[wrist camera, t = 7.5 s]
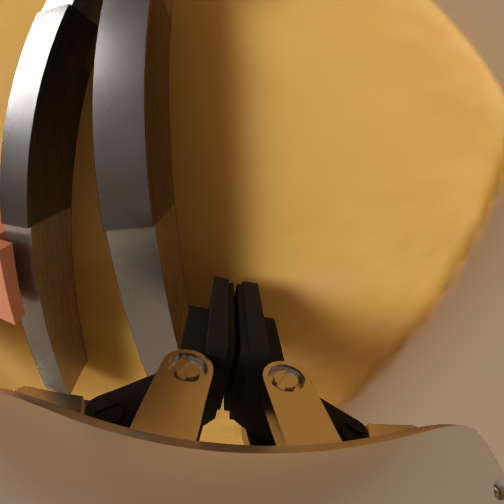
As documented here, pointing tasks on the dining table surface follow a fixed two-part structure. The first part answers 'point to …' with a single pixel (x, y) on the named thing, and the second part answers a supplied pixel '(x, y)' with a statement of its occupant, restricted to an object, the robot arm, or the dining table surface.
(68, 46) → the tongs fixed arm
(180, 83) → the dining table surface
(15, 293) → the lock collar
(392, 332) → the dining table surface
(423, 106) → the dining table surface
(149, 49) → the tongs moving arm
